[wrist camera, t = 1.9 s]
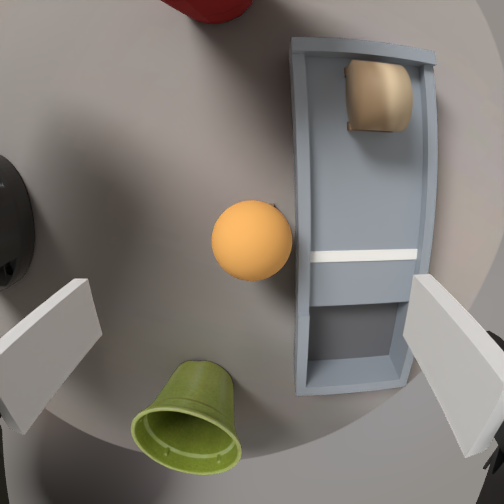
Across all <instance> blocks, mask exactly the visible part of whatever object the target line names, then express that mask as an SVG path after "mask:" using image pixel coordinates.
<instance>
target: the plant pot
mask: <svg viewBox="0 0 504 504" xmlns="http://www.w3.org/2000/svg"><path fill="white" fill-rule="evenodd" d="M131 434H132V437H133V439H134V441H135V443H136V444H137V446H138V447H139V448H140V449H141V450H142V451H143V452H144V453H145V454H146V455H147V456H149V457H150V458H151V459H153V460H154V461H156V462H158V463H160V464H161V465H163V466H165V467H168V468H170V469H173V470H176V471H180V472H184V473H189V474H196V475H211V474H218V473H222V472H225V471H228V470H230V469H231V468H233V467H234V466H235V465H237V464H238V462H239V461H240V459H241V456H242V447H241V443H240V441H239V439H238V438H237V433H236V430H235V428H234V387H233V382H232V379H231V377H230V375H229V374H228V373H227V372H226V371H225V370H224V369H223V368H222V367H220V366H219V365H217V364H215V363H212V362H209V361H191V360H190V361H187V362H184V363H182V364H181V365H180V366H178V368H177V369H176V370H175V372H174V373H173V374H172V376H171V378H170V379H169V381H168V382H167V384H166V385H165V387H164V388H163V389H162V391H161V392H160V394H159V395H158V397H157V398H156V399H155V401H154V402H153V403H152V404H151V405H150V406H148V407H147V408H146V409H144V410H142V411H141V412H139V413H138V414H137V415H136V416H135V418H134V419H133V421H132V424H131Z"/></svg>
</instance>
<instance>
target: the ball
mask: <svg viewBox="0 0 504 504" xmlns="http://www.w3.org/2000/svg"><path fill="white" fill-rule="evenodd" d="M291 248H292V233H291V229H290V226H289V224H288V222H287V220H286V218H285V217H284V216H283V214H282V213H281V212H280V211H279V210H277V209H276V208H275V207H273V206H272V205H270V204H267V203H265V202H261V201H255V200H249V201H243V202H239V203H236V204H234V205H232V206H231V207H229V208H228V209H226V210H225V211H224V212H223V213H222V214H221V216H220V217H219V218H218V220H217V222H216V224H215V226H214V229H213V232H212V249H213V253H214V255H215V258H216V260H217V261H218V263H219V264H220V266H221V267H222V268H223V269H224V270H225V271H226V272H227V273H229V274H230V275H232V276H234V277H236V278H238V279H241V280H246V281H258V280H263V279H266V278H268V277H270V276H272V275H274V274H275V273H277V272H278V271H279V270H280V269H281V268H282V267H283V266H284V264H285V263H286V261H287V259H288V257H289V255H290V252H291Z"/></svg>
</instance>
